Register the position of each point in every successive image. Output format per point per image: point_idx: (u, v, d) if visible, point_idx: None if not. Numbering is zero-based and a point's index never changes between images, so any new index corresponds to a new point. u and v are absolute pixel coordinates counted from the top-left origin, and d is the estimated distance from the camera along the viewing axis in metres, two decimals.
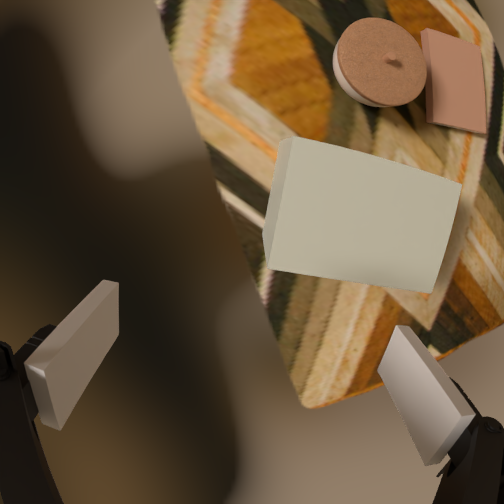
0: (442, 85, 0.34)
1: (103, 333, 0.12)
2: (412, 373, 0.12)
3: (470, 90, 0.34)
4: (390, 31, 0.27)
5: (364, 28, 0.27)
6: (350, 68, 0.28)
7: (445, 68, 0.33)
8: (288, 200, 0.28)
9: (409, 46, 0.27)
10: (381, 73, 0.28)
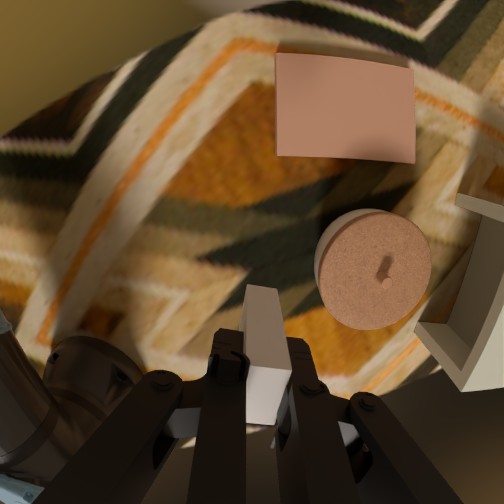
0: (366, 141, 0.28)
1: None
2: None
3: (361, 88, 0.27)
4: (341, 268, 0.26)
5: (340, 303, 0.27)
6: (391, 319, 0.27)
7: (339, 131, 0.28)
8: (496, 383, 0.25)
9: (360, 241, 0.25)
10: (398, 283, 0.26)
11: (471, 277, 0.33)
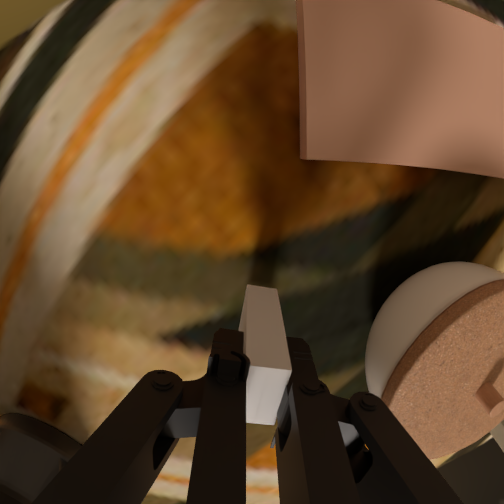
0: (460, 139, 0.14)
1: None
2: None
3: (448, 46, 0.12)
4: (428, 393, 0.11)
5: None
6: (475, 438, 0.13)
7: (419, 117, 0.13)
8: None
9: (470, 344, 0.10)
10: (501, 393, 0.12)
11: None
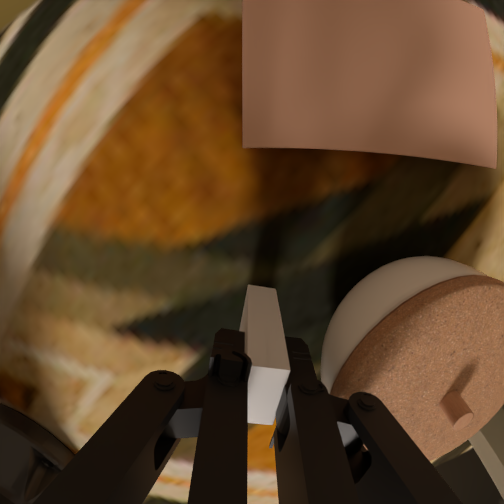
0: (420, 122, 0.13)
1: None
2: None
3: (406, 24, 0.12)
4: None
5: (367, 449, 0.12)
6: (446, 449, 0.12)
7: (370, 99, 0.13)
8: None
9: (426, 348, 0.10)
10: (473, 402, 0.11)
11: None
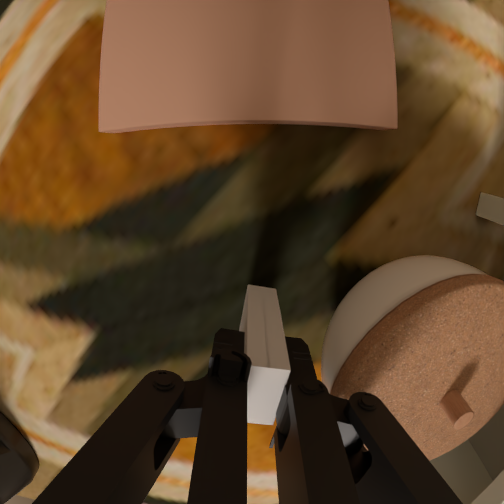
0: (282, 83, 0.13)
1: None
2: None
3: None
4: None
5: None
6: (447, 448, 0.12)
7: (219, 67, 0.13)
8: None
9: (426, 347, 0.10)
10: (473, 401, 0.11)
11: None
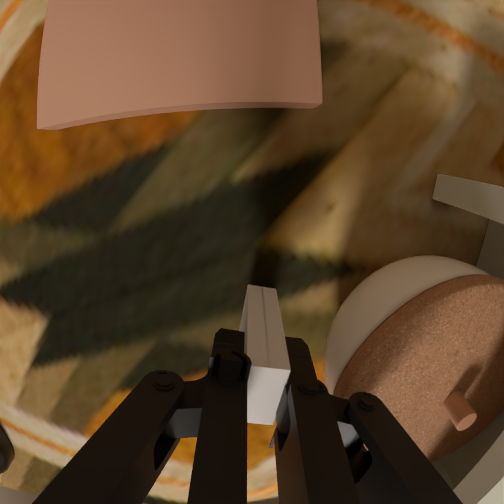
0: (196, 67, 0.12)
1: None
2: None
3: None
4: None
5: None
6: (450, 449, 0.12)
7: (138, 59, 0.12)
8: None
9: (429, 348, 0.10)
10: (477, 402, 0.11)
11: None
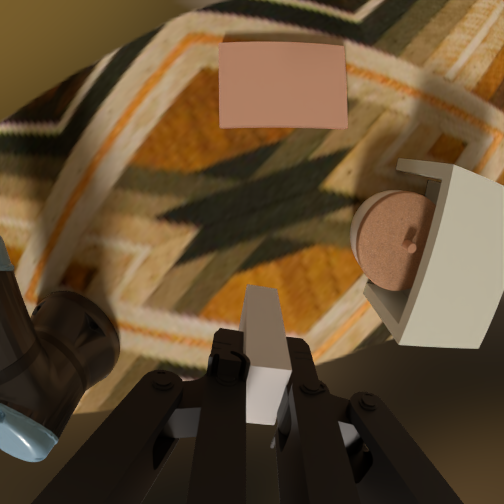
0: (298, 110, 0.33)
1: None
2: None
3: (293, 66, 0.31)
4: (375, 236, 0.31)
5: (374, 266, 0.32)
6: None
7: (273, 103, 0.32)
8: (442, 342, 0.29)
9: (390, 214, 0.30)
10: (420, 250, 0.31)
11: None
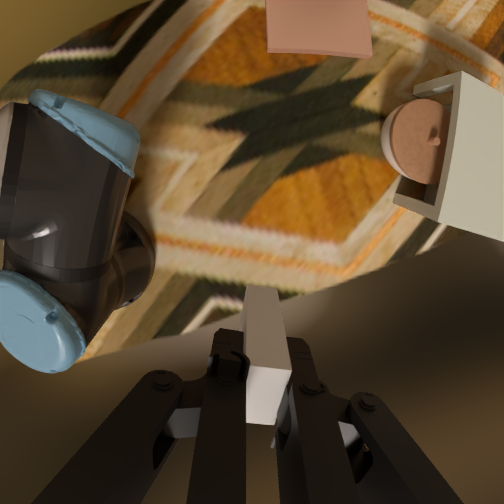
0: (332, 39, 0.35)
1: None
2: None
3: (326, 7, 0.33)
4: (405, 131, 0.33)
5: (407, 157, 0.34)
6: None
7: (312, 33, 0.34)
8: (473, 226, 0.31)
9: (415, 114, 0.32)
10: (442, 148, 0.33)
11: None
